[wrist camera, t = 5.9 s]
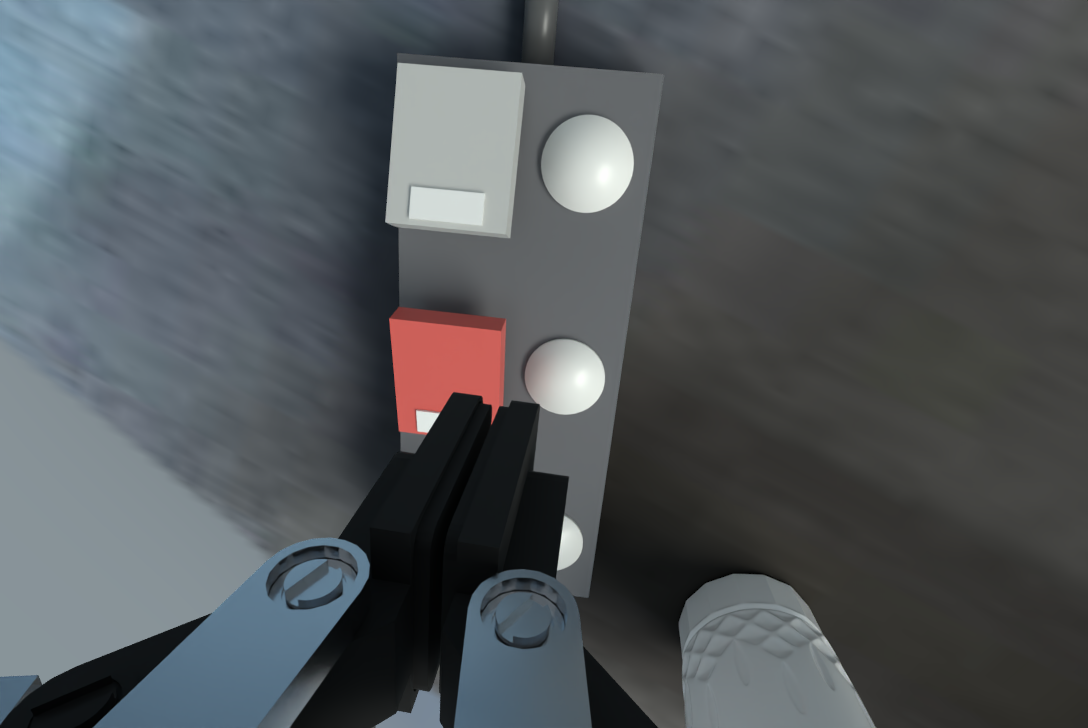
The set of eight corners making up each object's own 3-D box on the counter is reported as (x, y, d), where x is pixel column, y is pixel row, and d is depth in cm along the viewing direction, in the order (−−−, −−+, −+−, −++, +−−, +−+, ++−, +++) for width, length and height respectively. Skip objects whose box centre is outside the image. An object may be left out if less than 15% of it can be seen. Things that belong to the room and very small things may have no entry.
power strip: (424, -57, 20) (388, -101, 17) (673, -41, 19) (688, -83, 16) (421, 531, 29) (397, 580, 26) (590, 555, 29) (588, 607, 25)
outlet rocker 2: (398, 306, 20) (388, 319, 19) (506, 318, 20) (500, 332, 19) (407, 416, 23) (397, 432, 22) (502, 428, 23) (497, 445, 22)
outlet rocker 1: (407, 76, 18) (396, 61, 17) (525, 85, 18) (521, 71, 17) (395, 227, 19) (383, 221, 18) (510, 238, 19) (505, 234, 18)
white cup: (642, 644, 30) (659, 858, 21) (712, 539, 28) (768, 732, 18) (770, 696, 31) (842, 930, 21) (853, 598, 28) (977, 817, 19)
